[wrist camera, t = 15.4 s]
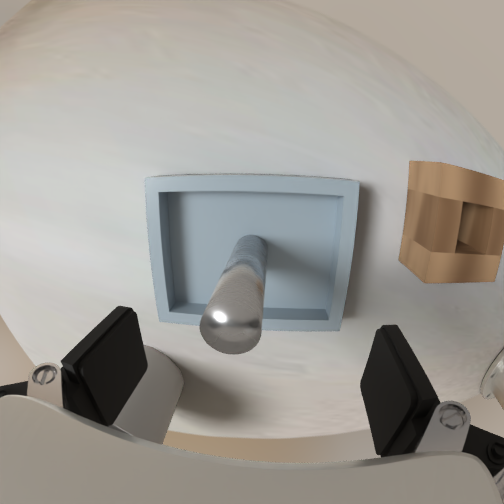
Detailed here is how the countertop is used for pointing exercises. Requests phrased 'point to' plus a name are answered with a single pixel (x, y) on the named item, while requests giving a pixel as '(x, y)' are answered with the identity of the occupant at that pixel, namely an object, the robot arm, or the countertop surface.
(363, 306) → the countertop surface
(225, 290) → the pin
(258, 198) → the tray
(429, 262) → the bore block
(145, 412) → the cup
